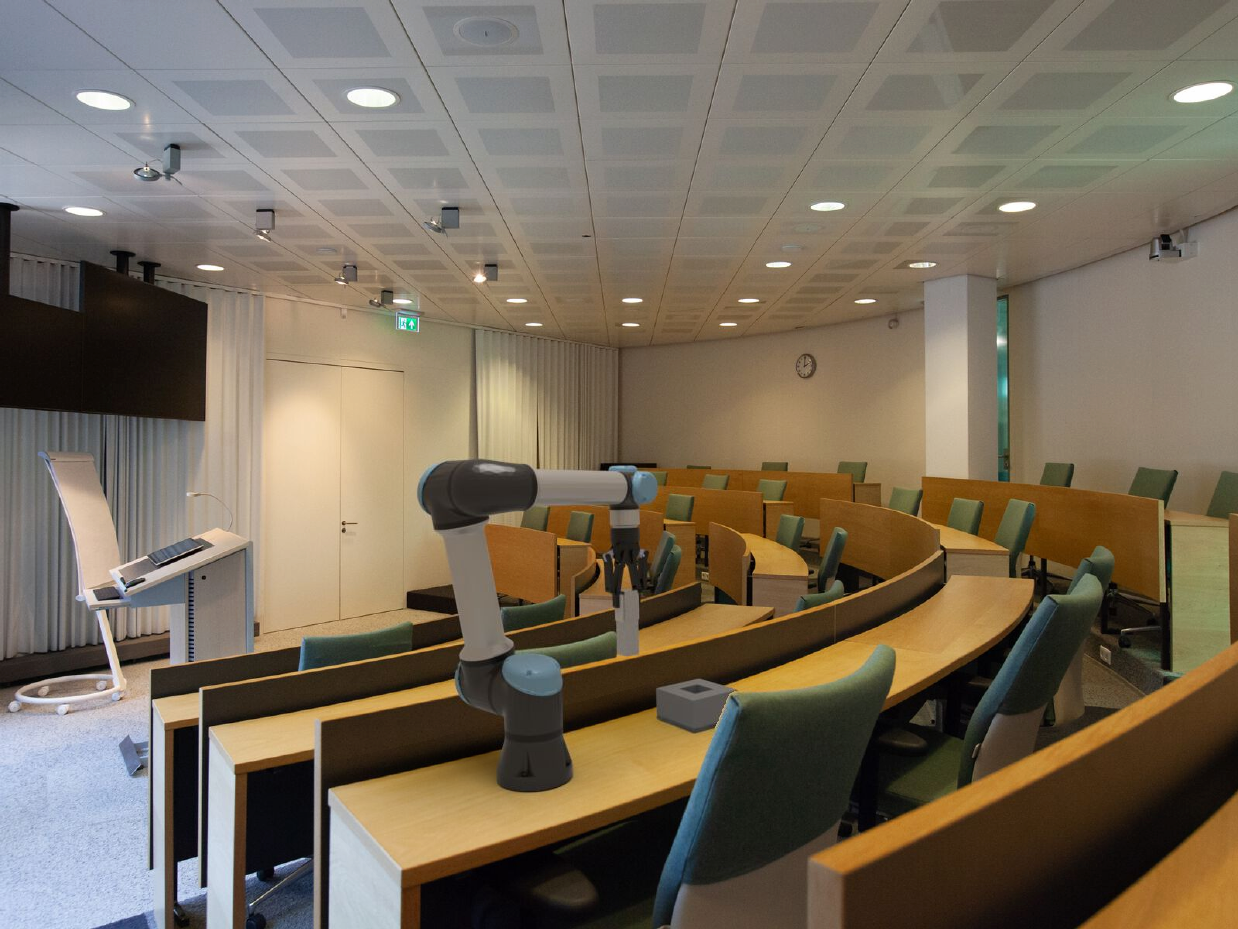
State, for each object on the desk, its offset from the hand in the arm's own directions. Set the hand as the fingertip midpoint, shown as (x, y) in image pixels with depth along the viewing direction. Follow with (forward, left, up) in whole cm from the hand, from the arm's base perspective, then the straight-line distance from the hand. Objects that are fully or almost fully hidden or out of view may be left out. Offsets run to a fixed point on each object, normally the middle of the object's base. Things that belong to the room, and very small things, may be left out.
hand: (627, 619), depth 187 cm
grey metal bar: (0, 0, -9) cm, 9 cm away
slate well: (+10, -14, -24) cm, 29 cm away
